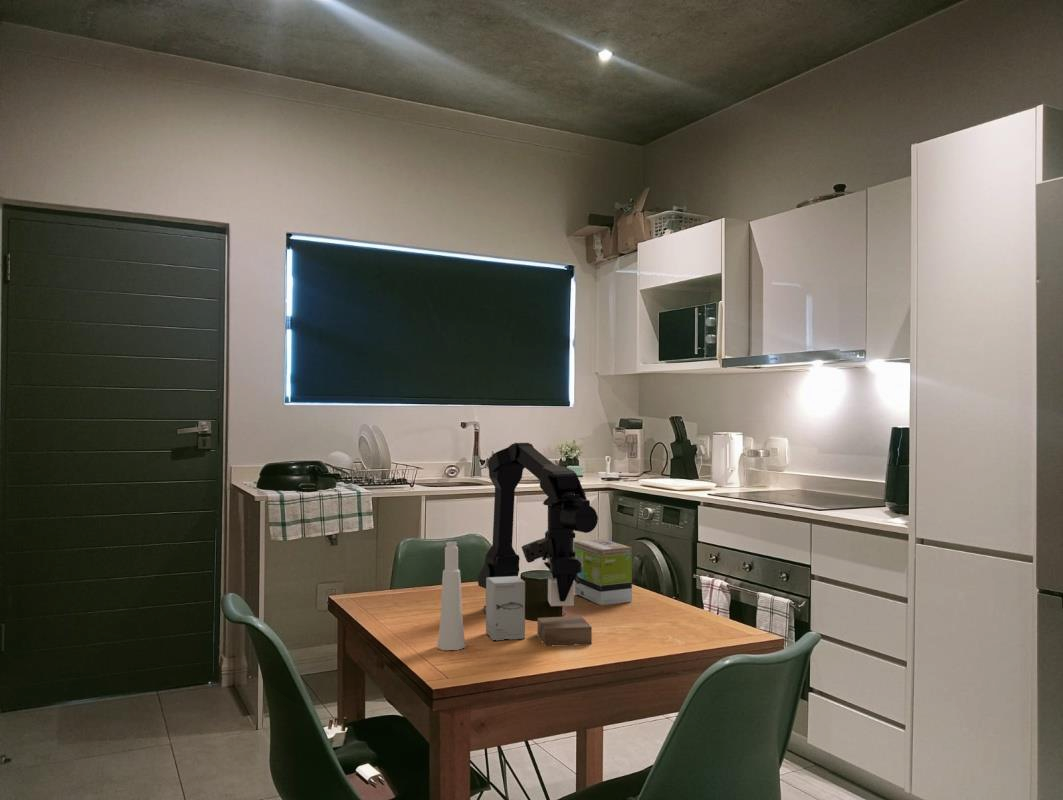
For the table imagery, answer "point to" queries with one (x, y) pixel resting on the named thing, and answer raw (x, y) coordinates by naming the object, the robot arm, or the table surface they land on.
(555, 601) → the ceramic cube
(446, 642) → the cosmetic bottle
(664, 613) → the table surface
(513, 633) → the supplement box
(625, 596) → the tea box
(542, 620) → the walnut block
